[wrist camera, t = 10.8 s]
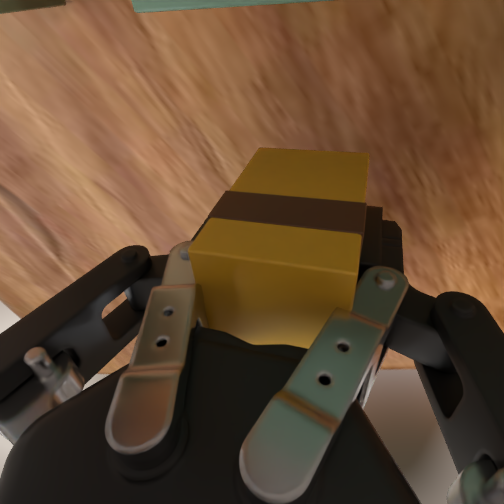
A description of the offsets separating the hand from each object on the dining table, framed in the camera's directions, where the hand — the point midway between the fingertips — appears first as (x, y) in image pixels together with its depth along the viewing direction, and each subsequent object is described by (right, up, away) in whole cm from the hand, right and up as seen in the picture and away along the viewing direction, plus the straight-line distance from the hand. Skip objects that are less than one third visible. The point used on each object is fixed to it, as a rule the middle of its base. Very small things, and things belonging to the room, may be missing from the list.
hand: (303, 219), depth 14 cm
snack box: (0, +1, +1) cm, 1 cm away
